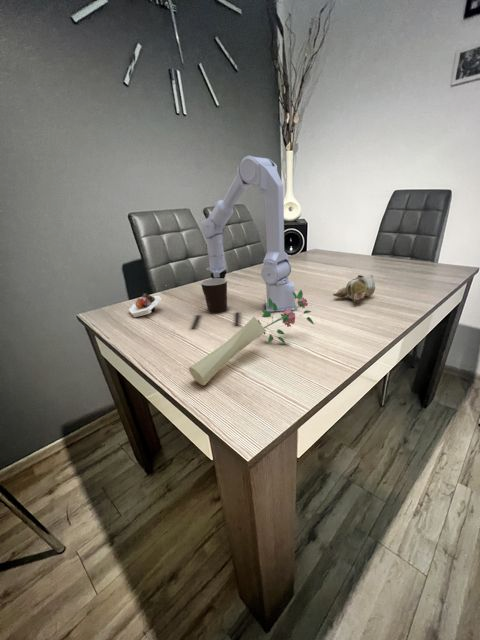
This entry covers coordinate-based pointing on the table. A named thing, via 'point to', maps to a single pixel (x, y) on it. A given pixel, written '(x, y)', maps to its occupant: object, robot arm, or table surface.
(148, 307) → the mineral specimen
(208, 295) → the coffee mug
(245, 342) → the flower vase
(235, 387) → the table surface
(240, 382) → the table surface
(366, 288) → the ceramic sculpture
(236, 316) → the guide strips
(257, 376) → the table surface
